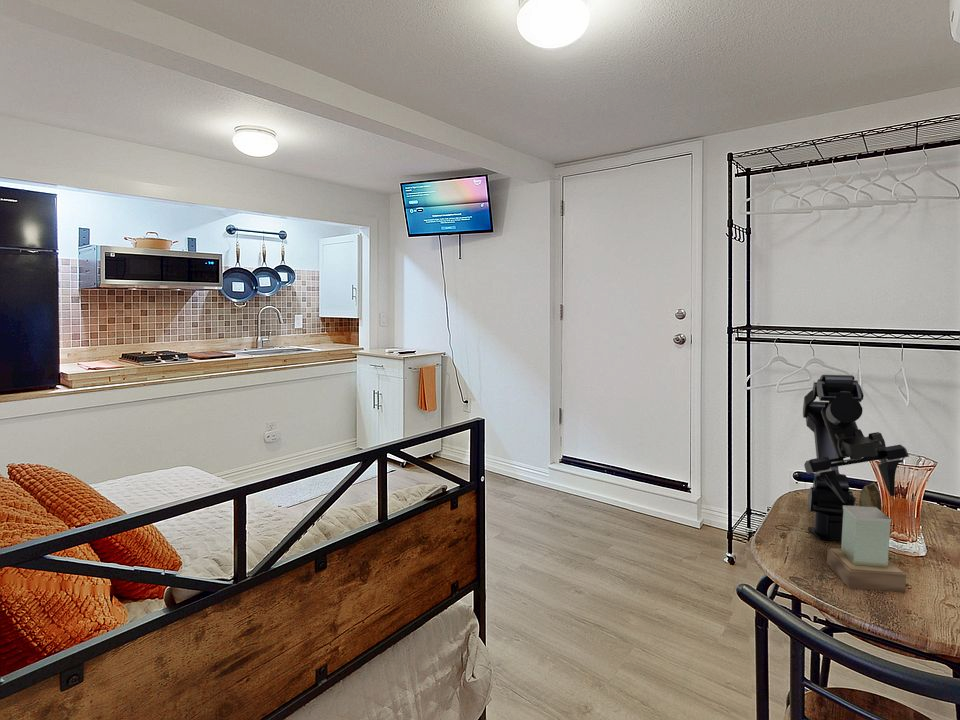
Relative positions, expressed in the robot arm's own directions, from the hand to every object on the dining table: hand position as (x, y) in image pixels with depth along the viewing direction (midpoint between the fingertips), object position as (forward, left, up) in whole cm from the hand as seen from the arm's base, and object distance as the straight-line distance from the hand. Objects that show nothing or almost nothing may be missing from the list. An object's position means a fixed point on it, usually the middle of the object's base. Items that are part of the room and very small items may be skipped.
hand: (868, 499), depth 115 cm
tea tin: (+6, -4, -11) cm, 13 cm away
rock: (-26, +17, -15) cm, 34 cm away
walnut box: (+6, -4, -15) cm, 17 cm away
